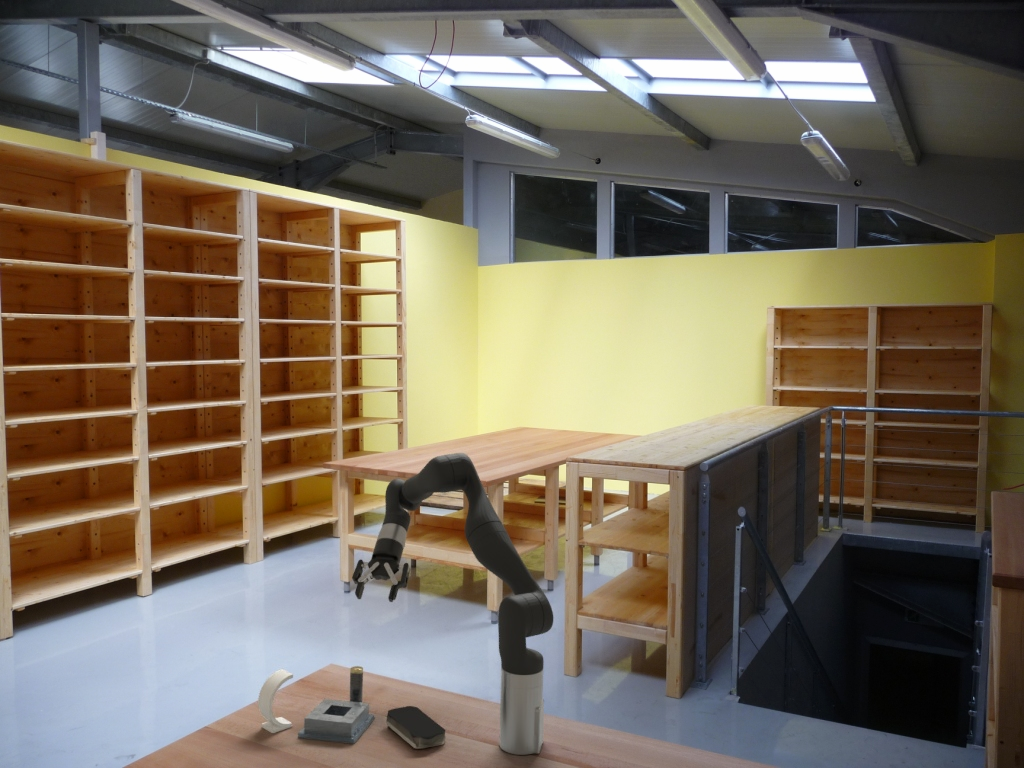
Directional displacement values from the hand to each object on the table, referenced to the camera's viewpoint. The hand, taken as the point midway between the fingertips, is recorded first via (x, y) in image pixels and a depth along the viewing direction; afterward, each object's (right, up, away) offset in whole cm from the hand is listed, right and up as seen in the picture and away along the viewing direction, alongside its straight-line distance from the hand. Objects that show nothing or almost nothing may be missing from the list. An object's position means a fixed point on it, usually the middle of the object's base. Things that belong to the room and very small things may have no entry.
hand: (374, 599), depth 209 cm
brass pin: (-3, -23, -11) cm, 26 cm away
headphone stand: (-19, -23, -23) cm, 38 cm away
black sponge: (+13, -24, -24) cm, 37 cm away
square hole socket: (-5, -23, -22) cm, 33 cm away
